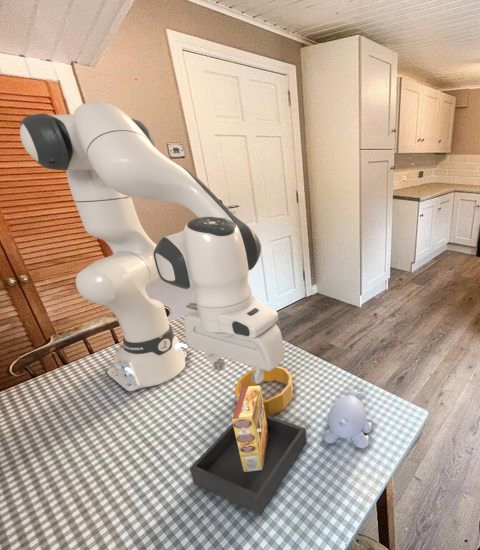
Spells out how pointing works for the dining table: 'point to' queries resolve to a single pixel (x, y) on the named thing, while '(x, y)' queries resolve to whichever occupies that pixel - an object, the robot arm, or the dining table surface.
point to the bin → (256, 484)
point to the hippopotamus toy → (348, 419)
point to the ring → (277, 401)
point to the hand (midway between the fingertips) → (238, 374)
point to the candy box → (251, 428)
